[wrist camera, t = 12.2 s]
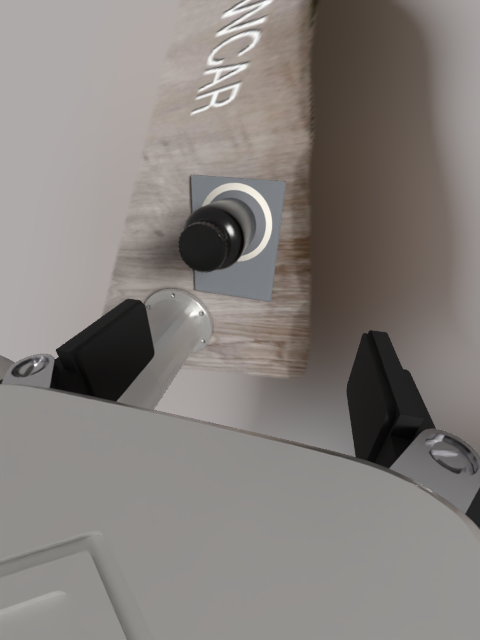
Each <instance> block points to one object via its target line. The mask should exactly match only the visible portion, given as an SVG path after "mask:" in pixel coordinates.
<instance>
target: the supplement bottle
mask: <svg viewBox="0 0 480 640" xmlns="http://www.w3.org/2000/svg"><path fill="white" fill-rule="evenodd" d="M255 233H256V219H255V216H254V213H253V211H252V210H251V208H250V207H249V206H248V205H247V204H246V203H245V202H243V201H242V200H239V199H237V198H223V199H220V200H218V201H215V202H213V203H210V204H208V205H205V206H203V207H201V208H199V209H197V210H195V211H194V212H193V213H192V214H191V215H190V216H189V218H188V219H187V221H186V224H185V227H184V231H183V232H182V233H181V236H180V237H179V252H180V253H181V257H182V258H183V261H185V263H186V264H187V265H188V266H189V267H190V268H192V269H193V270H196V271H198V272H202V273H203V272H206V273H207V272H212V271H214V270H223V269H226V268H229V267H230V266H232V265H233V264H235V263H236V262H237V261H238V259H239V258H240V257H241V256H242V254H243V253H244V251H245V250H246V249H247V247H248V246H249V245H250V243H251V242H252V240H253V238H254V236H255Z"/></svg>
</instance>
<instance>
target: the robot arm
mask: <svg viewBox="0 0 480 640" xmlns="http://www.w3.org/2000/svg"><path fill="white" fill-rule="evenodd" d="M212 331H213V325H212V320H211V317H210V314H209V312H208V311H207V309H206V307H205V306H204V305H203V304H202V303H201V302H200V301H199V300H198V299H197V298H196V297H194V296H193V295H191V294H190V293H187V292H185V291H183V290H178V289H170V288H169V289H163V290H160V291H157V292H156V293H154V294H153V295H152V296H151V297H149V298H148V300H147V301H146V303H145V305H144V304H143V303H142V302H141V301H140V300H133V299H127V300H125V301H123V302H122V303H121V304H119V305H118V306H116V307H115V308H114V309H112V310H111V311H109V312H108V313H107V314H105V315H104V316H102V317H101V318H100V319H98V320H97V321H96V322H94V323H93V324H91V325H90V326H89V327H87V328H86V329H85V330H83V331H82V332H80V333H79V334H77V335H76V336H74V337H73V338H72V339H70V340H69V341H67V342H66V343H65V344H63V345H62V346H60V347H59V348H58V349H56V352H57V354H58V356H59V357H58V358H57V359H54V357H53V356H51V355H48V354H38V355H33V356H29V357H26V358H24V359H22V360H19V361H18V362H16V363H14V362H13V361H11V360H9V359H7V358H5V357H3V356H0V640H480V455H479V453H478V452H477V451H476V450H475V449H474V448H473V447H472V446H471V445H469V444H468V443H467V442H466V441H464V440H463V439H461V438H460V437H458V436H456V435H454V434H452V433H449V432H446V431H444V430H440V429H436V428H435V426H434V424H433V421H432V419H431V417H430V415H429V413H428V411H427V408H426V406H425V404H424V402H423V400H422V398H421V395H420V393H419V391H418V389H417V387H416V384H415V382H414V381H413V378H412V376H411V374H410V372H409V371H408V370H404V369H403V368H402V366H401V364H400V361H399V359H398V357H397V355H396V352H395V350H394V348H393V346H392V343H391V341H390V338H389V336H388V334H387V333H386V332H379V331H372V330H370V331H369V333H368V334H366V333H364V334H363V335H362V338H361V342H360V345H359V348H358V351H357V354H356V358H355V361H354V364H353V368H352V371H351V374H350V377H349V381H348V384H347V399H348V406H349V412H350V420H351V426H352V434H353V440H354V448H355V455H356V457H353V456H349V455H346V454H342V453H339V452H334V451H330V450H326V449H322V448H318V447H314V446H310V445H306V444H302V443H298V442H294V441H289V440H285V439H281V438H276V437H272V436H268V435H263V434H259V433H255V432H250V431H246V430H241V429H237V428H233V427H228V426H224V425H220V424H215V423H210V422H206V421H201V420H197V419H193V418H188V417H183V416H179V415H175V414H170V413H166V412H161V411H157V410H154V409H155V407H156V406H157V404H158V402H159V401H160V399H161V398H162V396H163V395H164V393H165V392H166V390H167V389H168V387H169V385H170V384H171V382H172V381H173V379H174V378H175V376H176V375H177V373H178V372H179V370H180V369H181V367H182V366H183V364H184V362H185V361H186V359H187V358H188V356H189V355H190V354H191V353H195V352H197V351H200V350H201V349H203V348H204V347H205V346H206V345H207V343H208V342H209V340H210V338H211V335H212Z"/></svg>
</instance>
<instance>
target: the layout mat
mask: <svg viewBox="0 0 480 640" xmlns="http://www.w3.org/2000/svg"><path fill="white" fill-rule="evenodd" d="M191 186H192V213H193V212H194V211H195V210H197V209H199V208H201V207H203V206H205V205H208V204H210V203H213V202H215V201H218V200H220V199H223V198H237V199H239V200H242V201H243V202H245V203H246V204H247V205H248V206H249V207H250V208H251V210H252V211H253V213H254V216H255V219H256V233H255V236H254V238H253V240H252V242H251V243H250V245H249V246H248V247H247V249H246V250H245V251H244V253H243V254H242V256H241V257H240V258H239V259H238V261H237V262H236V263H235V264H233V265H232V266H230V267H229V268H226V269H223V270H214V271H212V272H207V273H206V272H203V273H202V272H198V271H196V270H195V290H197V291H204V292H210V293H217V294H224V295H230V296H237V297H244V298H250V299H257V300H264V301H271V295H272V287H273V280H274V272H275V264H276V256H277V248H278V240H279V233H280V225H281V217H282V209H283V201H284V194H285V186H286V181H272V180H258V179H244V178H230V177H216V176H202V175H191Z"/></svg>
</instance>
